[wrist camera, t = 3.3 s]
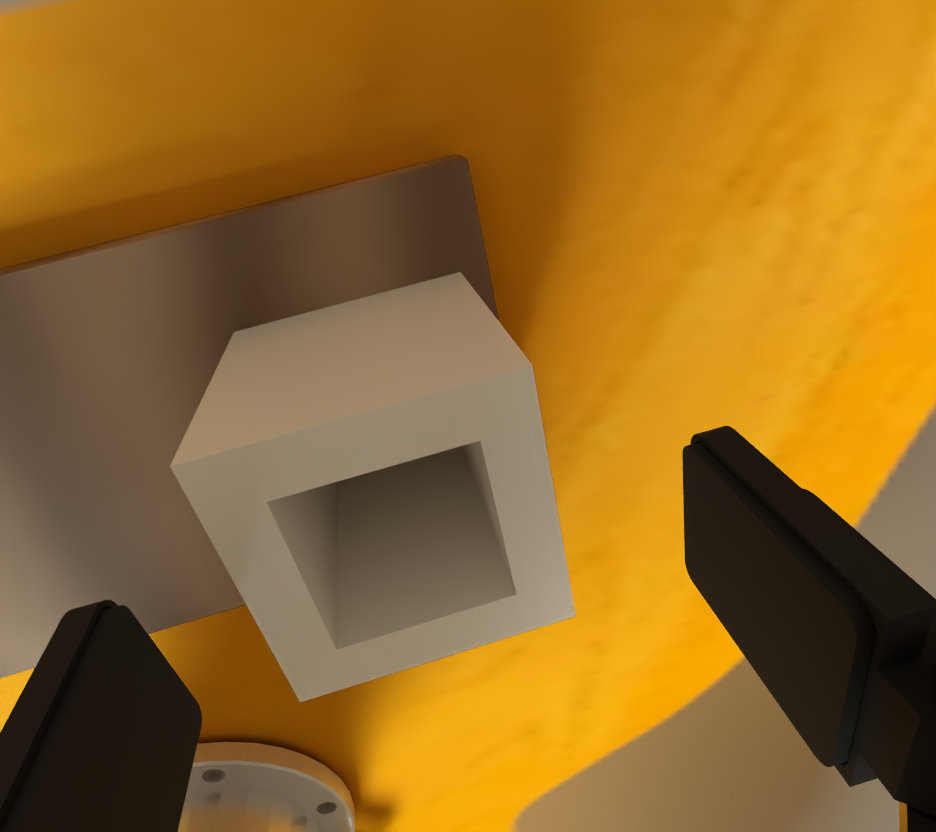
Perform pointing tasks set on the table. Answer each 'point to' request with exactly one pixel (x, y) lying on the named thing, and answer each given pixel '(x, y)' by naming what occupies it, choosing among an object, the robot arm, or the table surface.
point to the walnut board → (174, 381)
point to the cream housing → (379, 484)
